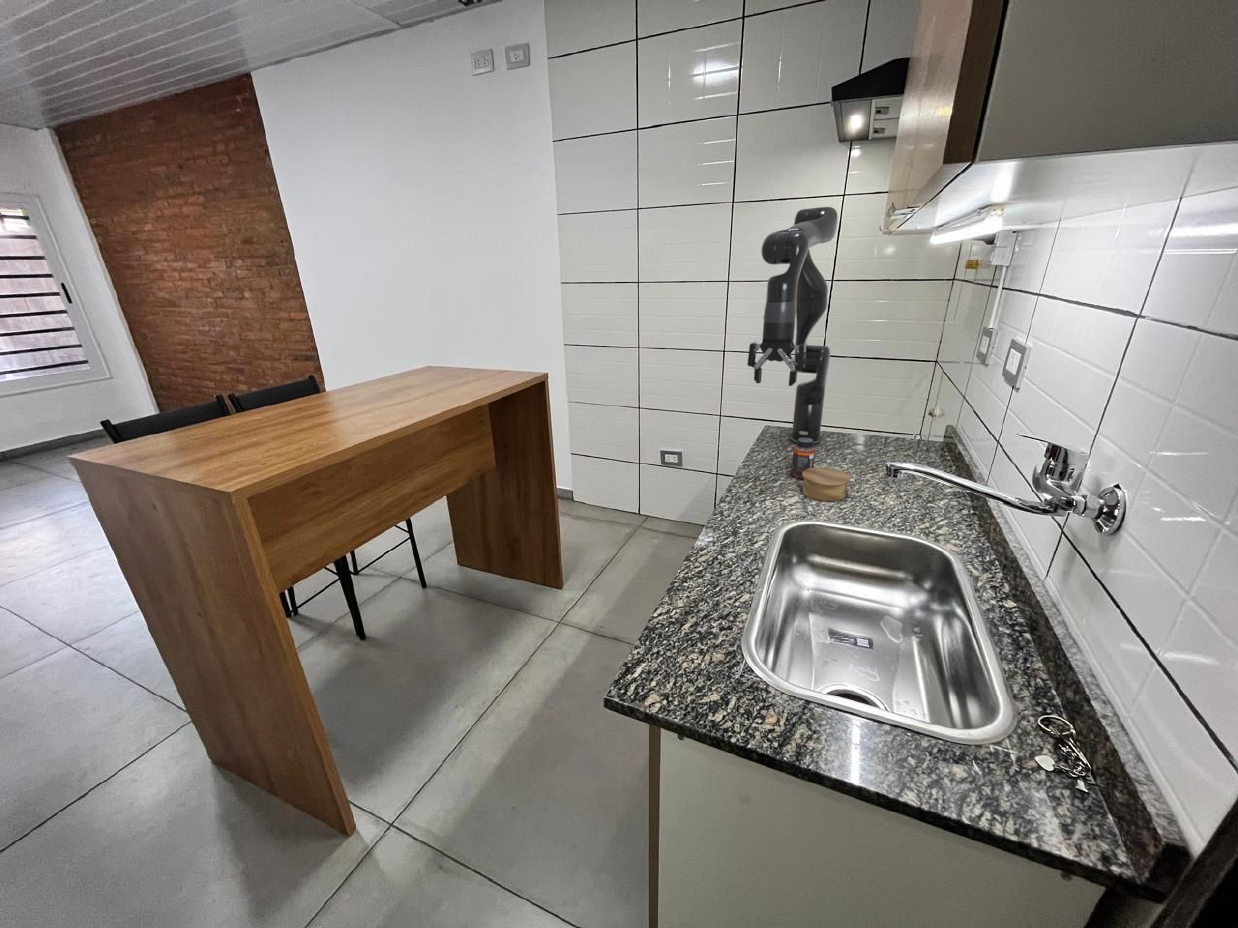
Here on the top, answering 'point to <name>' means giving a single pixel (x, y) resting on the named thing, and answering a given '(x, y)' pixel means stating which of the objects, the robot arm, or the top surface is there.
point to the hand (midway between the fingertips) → (774, 384)
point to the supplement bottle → (803, 457)
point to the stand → (825, 483)
